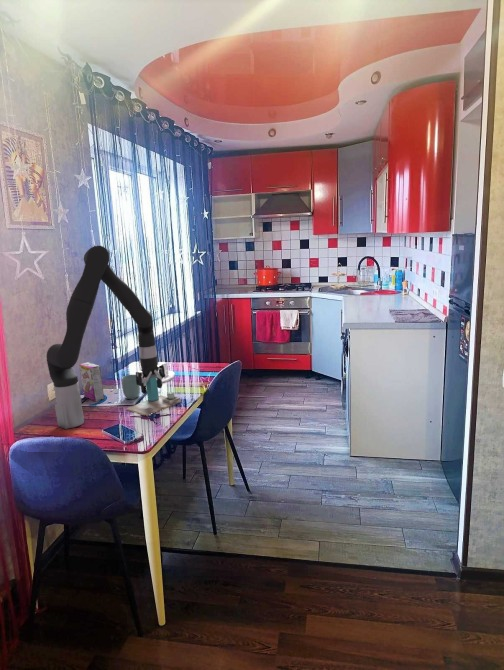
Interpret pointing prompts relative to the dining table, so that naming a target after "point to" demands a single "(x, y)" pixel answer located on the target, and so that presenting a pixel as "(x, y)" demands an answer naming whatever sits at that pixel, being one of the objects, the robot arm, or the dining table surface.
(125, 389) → the cup
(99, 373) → the candy bar box
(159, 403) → the clipboard
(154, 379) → the teal rectangular block
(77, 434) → the dining table surface
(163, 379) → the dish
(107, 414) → the dining table surface
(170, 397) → the button
